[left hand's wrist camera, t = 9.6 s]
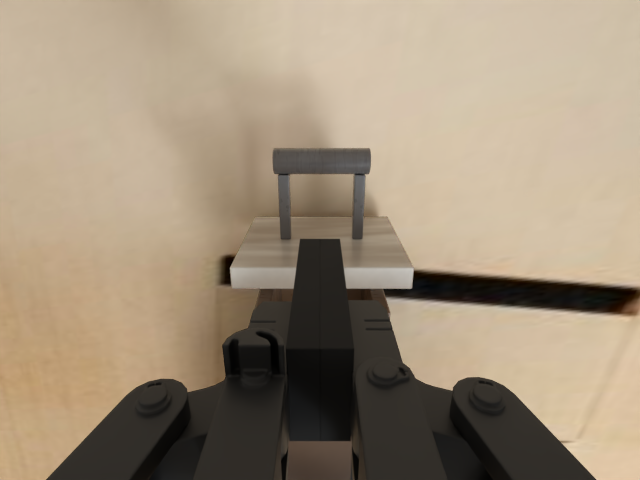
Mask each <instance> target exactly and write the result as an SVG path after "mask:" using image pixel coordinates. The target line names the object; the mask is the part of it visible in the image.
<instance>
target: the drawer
mask: <svg viewBox="0 0 640 480" xmlns="http://www.w3.org/2000/svg"><path fill="white" fill-rule="evenodd" d="M370 166H371V152H370V149H369V148H274V150H273V171H274V174H279V175H278V189H279V214H280V217H255V218H254V220H253V222H252V224H251V226H250V228H249V230H248V232H247V234H246V236H245V238H244V240H243V242H242V245H241V247H240V249H239V251H238V253H237V255H236V257H235V259H234V261H233V263H232V265H231V267H230V274H231V285H232V288H233V289H260V292H259V296H258V299H257V302H256V306H255V308H256V307H257V306H258V305H260V304H261V303H262V302H263V301H292V296H293V289H294V281H295V273H296V266H297V258H298V250H299V243H300V239H340V243H341V250H342V258H343V266H344V273H345V281H346V289H347V296H348V300H378V301H379V302H380V303H381V304H382V305H383V306H384V307H385V308H386V309H387V312H388V315H389V319H390V310H389V307H388V304H387V301H386V298H385V294H384V291H383V289H411V288H412V282H413V272H414V267H413V265H412V263H411V261H410V259H409V257H408V256H407V254H406V252H405V250H404V248H403V246H402V244H401V242H400V240H399V238H398V236H397V234H396V232H395V230H394V228H393V226H392V225H391V223H390V221H389V219H388V217H364V197H365V174H369V172H370ZM290 174H354V176H353V208H352V217H291V200H290Z"/></svg>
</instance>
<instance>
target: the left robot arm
mask: <svg viewBox="0 0 640 480" xmlns="http://www.w3.org/2000/svg"><path fill="white" fill-rule="evenodd" d="M222 347H223V356H224V365H225V374H226V377H225V380H224V381H222V382H220V383H218V384H216V385H214V386H211V387H208V388H204V389H200V390H196V391H192V392H188V393H187V388H186V387H185V386H184V385H183V384H182V383H181V382H179V381H176V380H173V379H158V380H154V381H149V382H147V383H145V384H143V385H140V386H138V387H136V388H135V389H134V390H133V391H131V392H130V393H129V394H128V395H126V396H125V397H124V398H123V399H122V401H121V402H120V403H119V404H118V405H117V406H116V407H115V408H114V409H113V410H112V411H111V412H110V413H109V414H108V415H107V416H106V417H105V418H104V419H103V420H102V422H101V423H100V424H99V425H98V426H97V427H96V428H95V429H94V430H93V431H92V432H91V433H90V434H89V435H88V436H87V437H86V438H85V439H84V440H83V442H82V443H81V444H80V445H79V446H78V447H77V448H76V449H75V450H74V451H73V452H72V453H71V454H70V455H69V456H68V457H67V458H66V459H65V460H64V462H63V463H62V464H61V465H60V466H59V467H58V468H57V469H56V470H55V471H54V472H53V473H52V474H51V475H50V476H49V477H48V478H47V479H46V480H287V479H288V466H289V453H288V443H289V441H352V453H351V478H350V480H596V479H595V478H594V477H593V476H592V475H591V474H590V473H589V472H588V471H587V469H586V468H585V467H584V466H583V465H582V464H581V463H580V462H579V461H578V460H577V459H576V458H575V457H574V456H573V455H572V454H571V453H570V452H569V451H568V450H567V449H566V448H565V446H564V445H563V444H562V443H561V442H560V441H559V440H558V439H557V438H556V437H555V436H554V435H553V434H552V433H551V432H550V431H549V430H548V429H547V428H546V427H545V426H544V425H543V423H542V422H541V421H540V420H539V419H538V418H537V417H536V416H535V415H534V414H533V413H532V412H531V411H530V410H529V409H528V408H527V407H526V406H525V405H524V404H523V403H522V402H521V401H520V399H519V398H518V397H517V396H516V395H515V394H514V393H512V392H511V391H510V390H509V389H507V388H506V387H505V386H503V385H501V384H499V383H497V382H495V381H493V380H489V379H485V378H480V377H471V378H465V379H463V380H460V381H458V382H457V384H456V385H455V386H454V387H453V391H451V390H446V389H442V388H438V387H434V386H431V385H428V384H425V383H423V382H421V381H419V380H417V379H416V378H415V377H414V375H413V373H412V371H411V370H410V368H409V367H407V366H406V365H405V364H403V362H402V359H401V356H400V352H399V349H398V345H397V342H396V339H395V335H394V332H393V330H392V325H391V322H390V319H389V315H388V312H387V309H386V308H385V307H384V306H383V305H382V304H381V303H380V302H379V301H378V300H348V296H347V289H346V281H345V273H344V266H343V258H342V250H341V243H340V239H300V243H299V250H298V258H297V266H296V273H295V281H294V289H293V296H292V301H263V302H262V303H261V304H260V305H258V306H257V307H256V308H255V309H254V310H253V313H252V317H251V320H250V323H249V327H248V329H244V330H241V331H239V332H236V333H234V334H233V335H231V336H230V337H228V338H227V339H226V341H225V342H224V344H223V345H222Z"/></svg>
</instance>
